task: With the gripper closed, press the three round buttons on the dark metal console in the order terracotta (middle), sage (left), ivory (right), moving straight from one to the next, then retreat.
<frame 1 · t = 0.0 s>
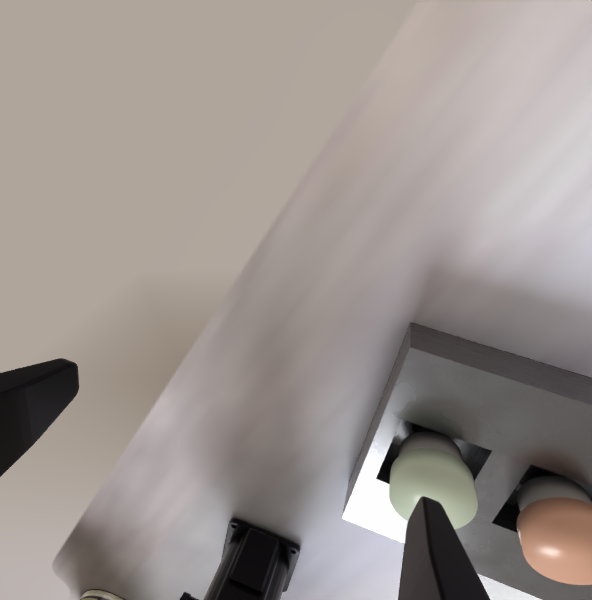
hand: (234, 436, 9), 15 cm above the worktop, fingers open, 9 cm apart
button sage: (430, 476, 22), point 4 cm above the worktop, slide at 0.0 cm
button terracotta: (562, 525, 20), point 4 cm above the worktop, slide at 0.0 cm
console: (541, 470, 24), on the worktop
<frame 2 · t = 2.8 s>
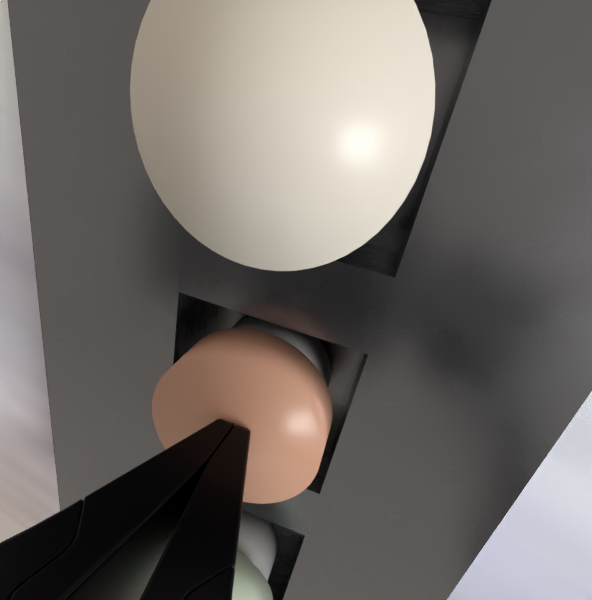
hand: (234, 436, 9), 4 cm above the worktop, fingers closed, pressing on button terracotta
button sage: (212, 573, 13), point 4 cm above the worktop, slide at 0.0 cm
button terracotta: (256, 395, 11), point 3 cm above the worktop, slide at 1.0 cm, touching gripper
button ivory: (298, 123, 7), point 4 cm above the worktop, slide at 0.0 cm
console: (286, 346, 13), on the worktop
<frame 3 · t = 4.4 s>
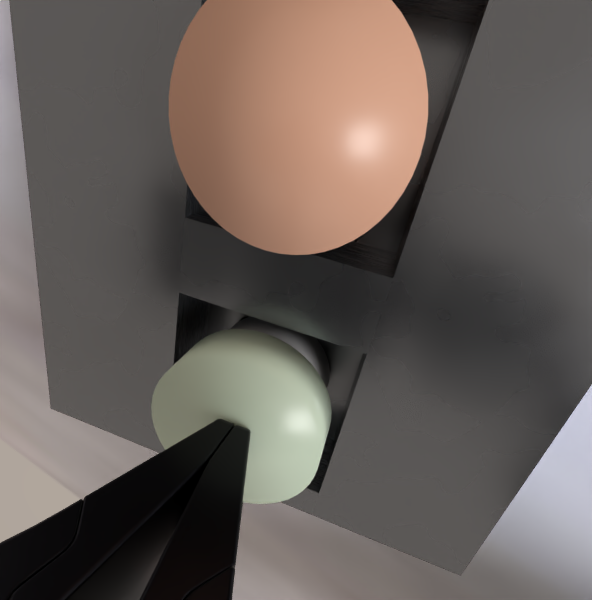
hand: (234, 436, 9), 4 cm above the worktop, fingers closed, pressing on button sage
button sage: (255, 396, 11), point 3 cm above the worktop, slide at 0.9 cm, touching gripper
button terracotta: (310, 127, 8), point 3 cm above the worktop, slide at 1.0 cm
console: (335, 129, 10), on the worktop
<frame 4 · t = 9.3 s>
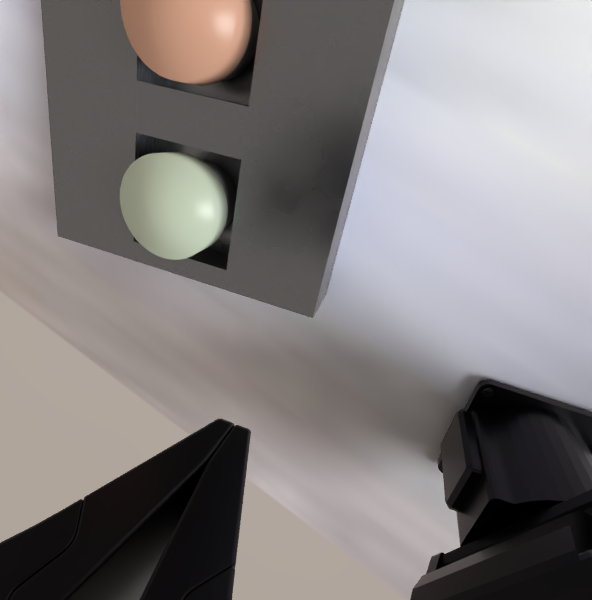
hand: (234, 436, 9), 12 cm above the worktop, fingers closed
button sage: (185, 203, 18), point 3 cm above the worktop, slide at 1.0 cm
button terracotta: (199, 19, 14), point 3 cm above the worktop, slide at 1.0 cm
console: (230, 36, 17), on the worktop
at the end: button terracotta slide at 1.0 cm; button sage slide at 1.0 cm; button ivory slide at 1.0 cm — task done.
